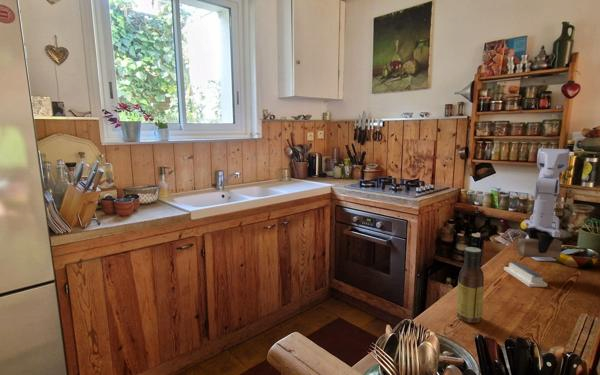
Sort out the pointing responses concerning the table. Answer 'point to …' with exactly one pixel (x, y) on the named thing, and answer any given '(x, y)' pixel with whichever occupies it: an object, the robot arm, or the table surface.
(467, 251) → the sauce bottle
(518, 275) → the ridge stand
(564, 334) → the table surface
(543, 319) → the table surface
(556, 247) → the walnut batten
